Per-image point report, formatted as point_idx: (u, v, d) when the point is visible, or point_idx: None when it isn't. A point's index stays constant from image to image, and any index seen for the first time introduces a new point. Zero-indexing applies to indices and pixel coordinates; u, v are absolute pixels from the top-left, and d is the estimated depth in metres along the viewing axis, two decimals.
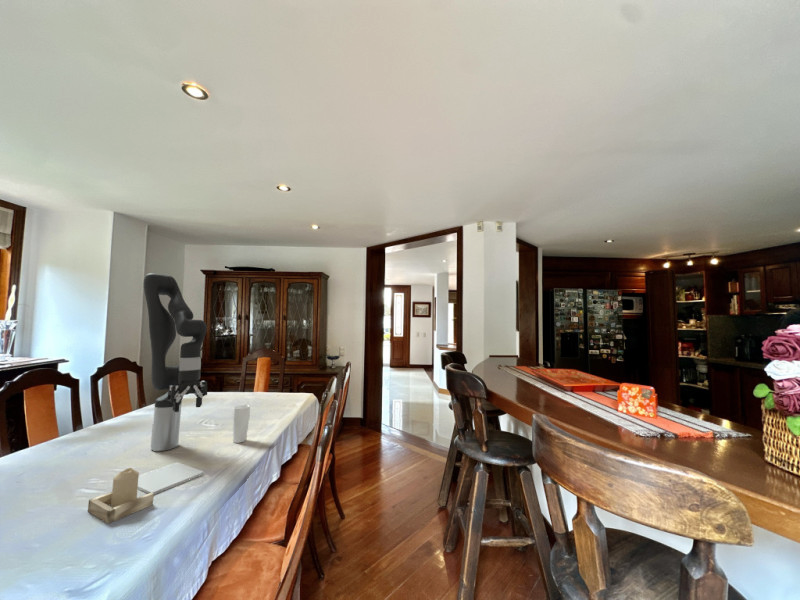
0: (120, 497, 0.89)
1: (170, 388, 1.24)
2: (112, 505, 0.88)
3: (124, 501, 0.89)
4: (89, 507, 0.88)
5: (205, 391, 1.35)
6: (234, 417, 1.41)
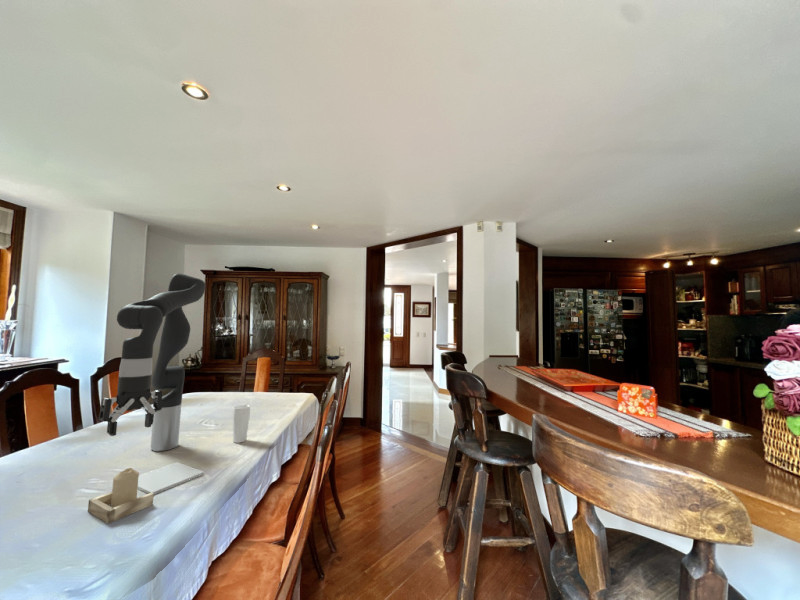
0: (120, 497, 0.89)
1: (103, 402, 0.87)
2: (112, 505, 0.88)
3: (124, 501, 0.89)
4: (89, 507, 0.88)
5: (159, 405, 0.98)
6: (234, 417, 1.41)
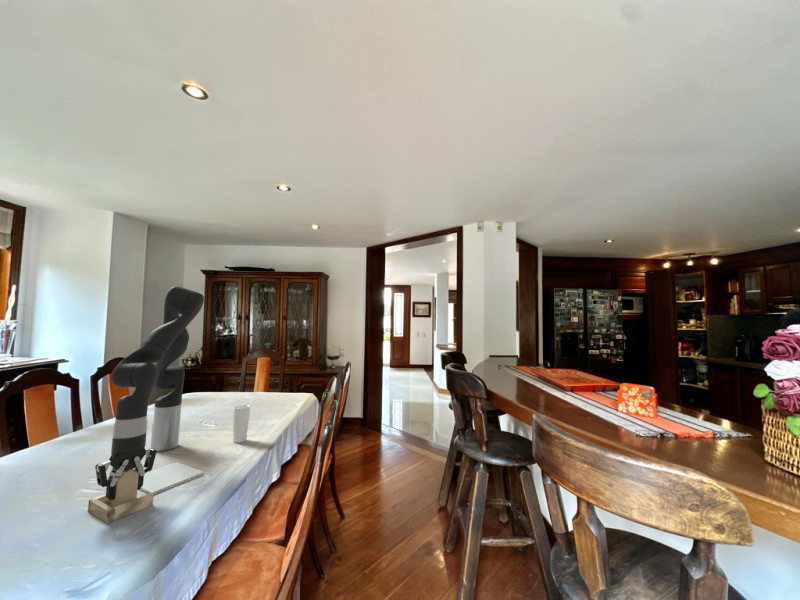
0: (120, 497, 0.89)
1: (97, 469, 0.86)
2: (112, 505, 0.88)
3: (124, 501, 0.89)
4: (89, 507, 0.88)
5: (150, 465, 0.96)
6: (234, 417, 1.41)
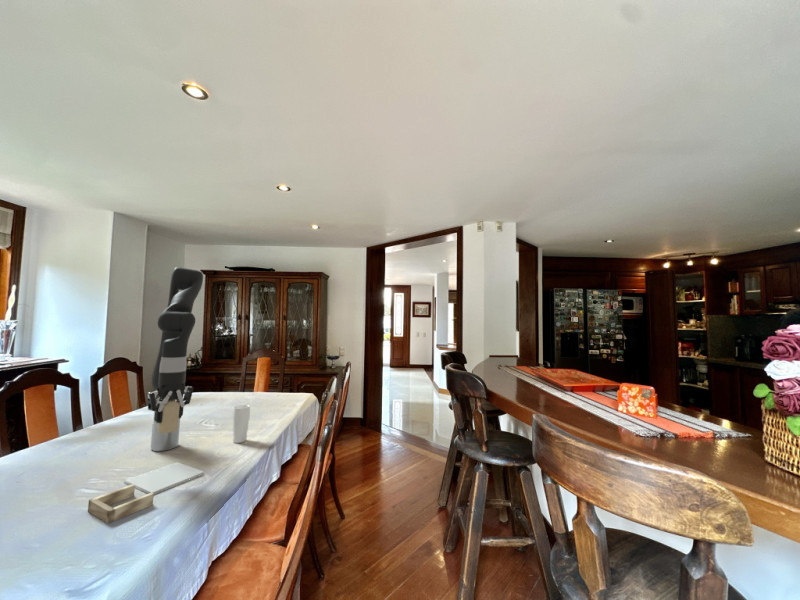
0: (166, 421, 1.07)
1: (148, 396, 1.04)
2: (159, 427, 1.07)
3: (169, 425, 1.07)
4: (89, 507, 0.88)
5: (188, 399, 1.14)
6: (234, 417, 1.41)
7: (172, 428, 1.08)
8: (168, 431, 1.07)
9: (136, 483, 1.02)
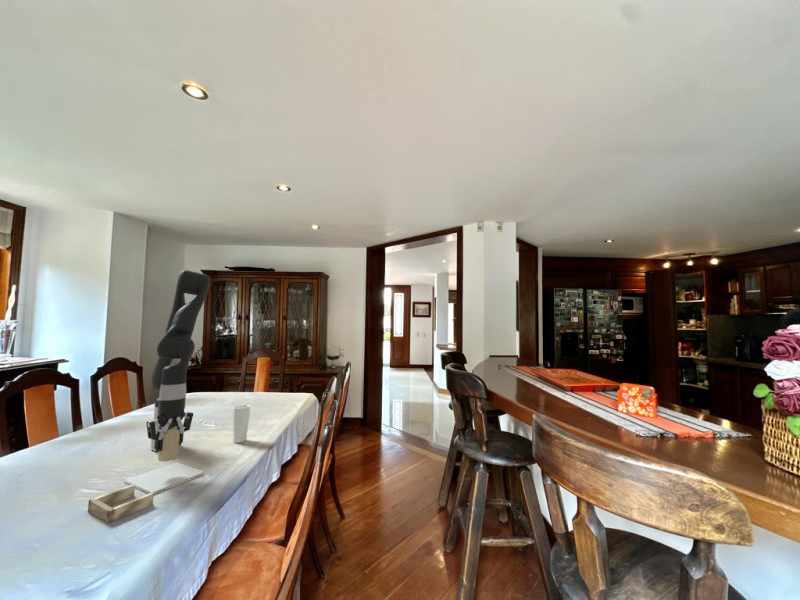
0: (166, 449, 1.06)
1: (148, 425, 1.03)
2: (159, 456, 1.06)
3: (169, 452, 1.07)
4: (89, 507, 0.88)
5: (188, 425, 1.13)
6: (234, 417, 1.41)
7: (173, 455, 1.07)
8: (169, 459, 1.06)
9: (136, 483, 1.02)
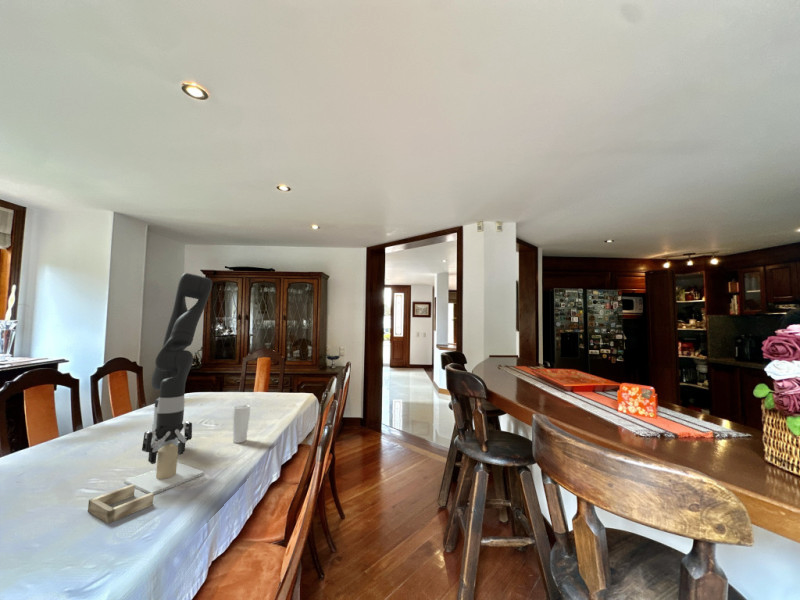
0: (164, 466, 1.06)
1: (146, 435, 1.03)
2: (157, 473, 1.06)
3: (167, 470, 1.06)
4: (89, 507, 0.88)
5: (189, 435, 1.14)
6: (234, 417, 1.41)
7: (171, 473, 1.07)
8: (166, 477, 1.06)
9: (136, 483, 1.02)
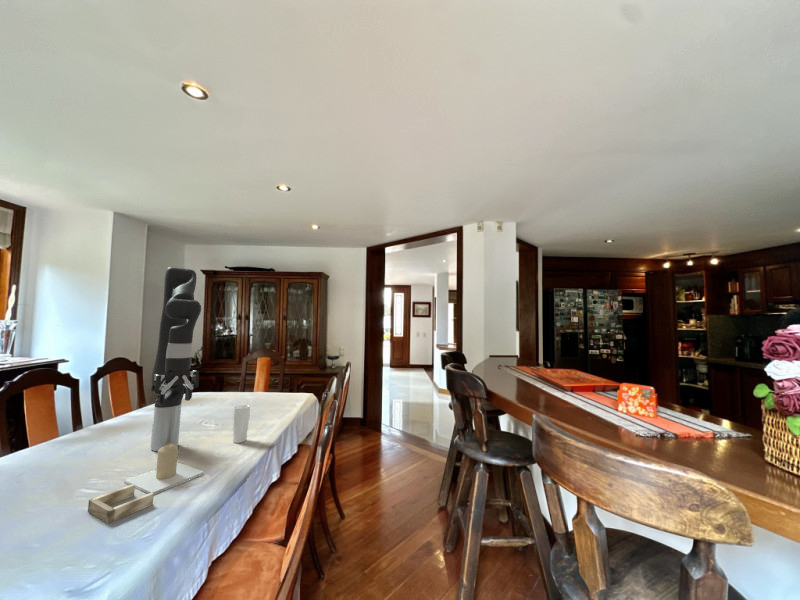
0: (164, 466, 1.06)
1: (155, 378, 1.07)
2: (157, 473, 1.06)
3: (167, 470, 1.06)
4: (89, 507, 0.88)
5: (196, 382, 1.18)
6: (234, 417, 1.41)
7: (171, 473, 1.07)
8: (166, 477, 1.06)
9: (136, 483, 1.02)
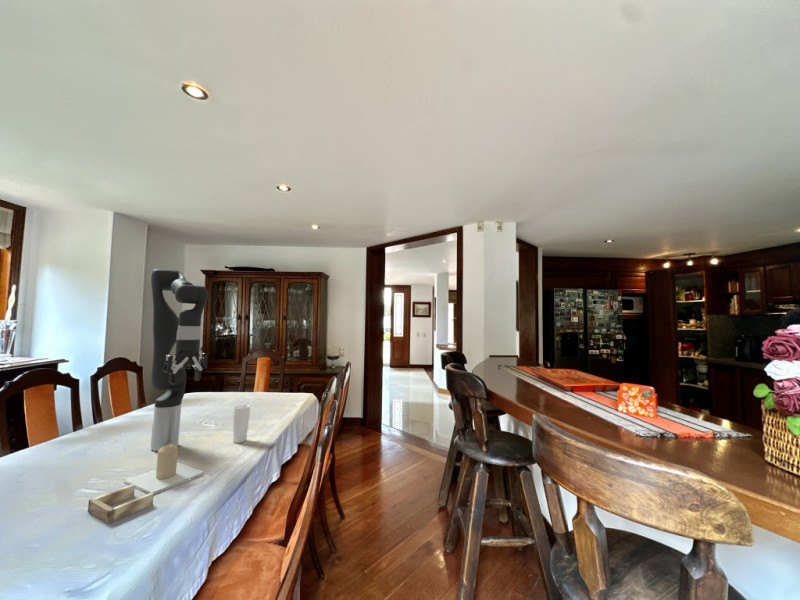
0: (164, 466, 1.06)
1: (167, 358, 1.13)
2: (157, 473, 1.06)
3: (167, 470, 1.06)
4: (89, 507, 0.88)
5: (205, 364, 1.24)
6: (234, 417, 1.41)
7: (171, 473, 1.07)
8: (166, 477, 1.06)
9: (136, 483, 1.02)
